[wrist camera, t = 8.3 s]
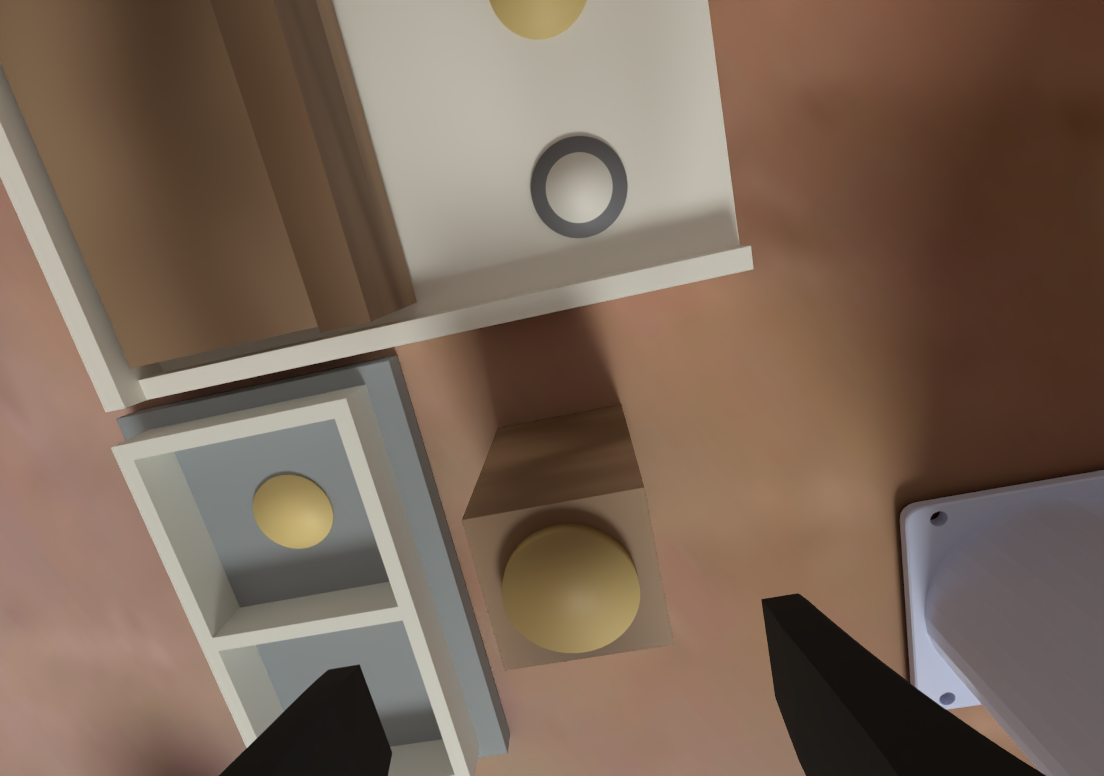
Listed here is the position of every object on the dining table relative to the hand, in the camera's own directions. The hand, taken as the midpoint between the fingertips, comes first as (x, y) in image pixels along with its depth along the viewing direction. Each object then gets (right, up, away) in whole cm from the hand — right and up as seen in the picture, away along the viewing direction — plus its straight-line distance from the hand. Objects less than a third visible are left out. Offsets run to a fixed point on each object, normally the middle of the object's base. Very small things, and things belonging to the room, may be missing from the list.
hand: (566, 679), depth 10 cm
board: (-5, +12, +6) cm, 14 cm away
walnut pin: (0, +2, +8) cm, 9 cm away
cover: (-9, +11, +5) cm, 15 cm away
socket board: (-8, -2, +10) cm, 13 cm away
